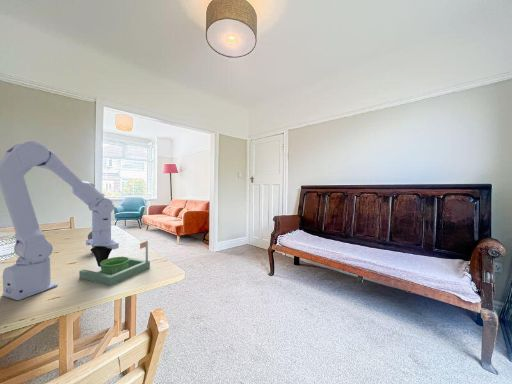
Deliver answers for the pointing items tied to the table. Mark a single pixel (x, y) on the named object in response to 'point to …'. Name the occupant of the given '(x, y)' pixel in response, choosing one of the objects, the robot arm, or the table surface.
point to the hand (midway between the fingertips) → (102, 265)
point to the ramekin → (114, 265)
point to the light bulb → (90, 237)
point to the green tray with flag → (107, 279)
